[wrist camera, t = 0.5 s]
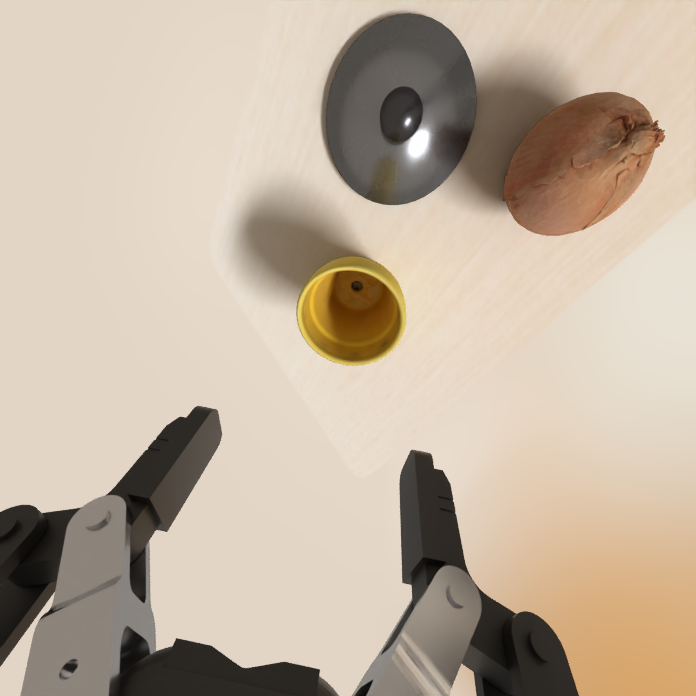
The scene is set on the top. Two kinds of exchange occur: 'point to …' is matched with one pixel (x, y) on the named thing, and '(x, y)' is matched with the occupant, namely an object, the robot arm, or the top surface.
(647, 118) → the onion
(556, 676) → the robot arm
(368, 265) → the plant pot
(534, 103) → the top surface
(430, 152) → the lid
